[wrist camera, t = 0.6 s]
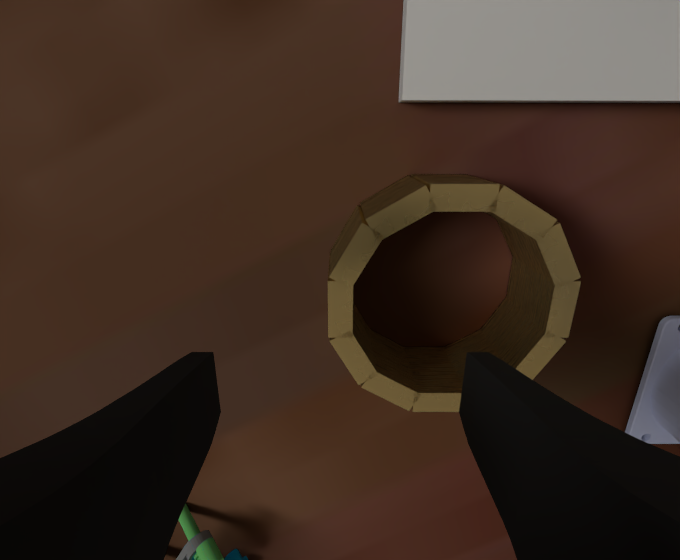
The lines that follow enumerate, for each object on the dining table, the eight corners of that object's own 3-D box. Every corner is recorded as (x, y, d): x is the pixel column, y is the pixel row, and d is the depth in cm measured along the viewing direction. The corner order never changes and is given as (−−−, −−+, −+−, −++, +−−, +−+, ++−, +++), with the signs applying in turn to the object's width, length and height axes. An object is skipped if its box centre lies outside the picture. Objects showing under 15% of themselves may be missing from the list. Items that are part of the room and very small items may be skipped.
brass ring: (547, 174, 18) (603, 184, 14) (514, 363, 21) (551, 411, 18) (329, 173, 18) (326, 183, 14) (331, 363, 21) (329, 411, 18)
